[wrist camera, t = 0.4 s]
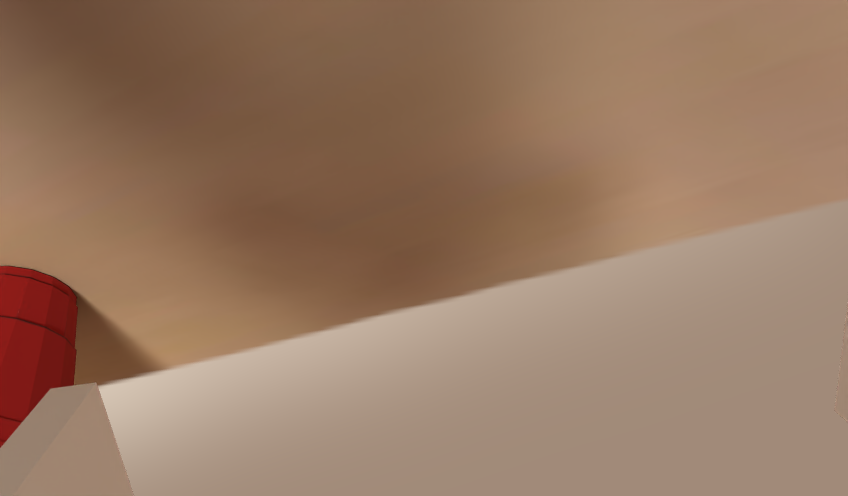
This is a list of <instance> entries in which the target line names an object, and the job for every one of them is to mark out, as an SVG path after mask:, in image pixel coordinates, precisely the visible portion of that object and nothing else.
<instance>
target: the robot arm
mask: <svg viewBox="0 0 848 496" xmlns="http://www.w3.org/2000/svg"><path fill="white" fill-rule="evenodd" d="M835 412H836V413H837V414H839V415H840V416H841V417H842V418H843V419H844V420H845V421H847V422H848V304H847V312H846V321H845V328H844V337H843V345H842V353H841V361H840V369H839V378H838V386H837V394H836V402H835ZM0 496H134V494H133V491H132V488H131V485H130V482H129V479H128V476H127V473H126V470H125V467H124V464H123V461H122V458H121V455H120V452H119V449H118V446H117V443H116V440H115V437H114V434H113V431H112V428H111V425H110V422H109V419H108V416H107V413H106V410H105V407H104V404H103V401H102V398H101V395H100V392H99V389H98V386H97V383H96V382H95V383H88V384H81V385H74V386H66V387H59V388H52V389H50V390H49V391H48V392H47V394H46V395H45V396H44V397H43V398H42V399H41V401H40V402H39V403H38V404H37V405H36V407H35V408H34V409H33V410H32V411H31V412H30V414H29V415H28V416H27V417H26V418H25V420H24V421H23V422H22V423H21V424H20V425H19V427H18V428H17V429H16V430H15V431H14V433H13V434H12V435H11V436H10V437H9V438H8V440H7V441H6V442H5V443H4V444H3V446H2V447H1V448H0Z"/></svg>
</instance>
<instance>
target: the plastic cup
mask: <svg viewBox="0 0 848 496" xmlns="http://www.w3.org/2000/svg"><path fill="white" fill-rule="evenodd" d="M76 299H77V297H76V296H75V294H74V293H73V292H72V290H71V289H70V288H69V287H68V286H67V285H65V284H63V283H62V282H60V281H59V280H57V279H56V278H54V277H51V276H49V275H46V274H43V273H40V272H37V271H34V270H31V269H24V268H18V267H12V266H0V448H1V447H2V446H3V444H4V443H5V442H6V441H7V440H8V438H9V437H10V436H11V435H12V434H13V433H14V431H15V430H16V429H17V428H18V427H19V425H20V424H21V423H22V422H23V421H24V420H25V418H26V417H27V416H28V415H29V414H30V412H31V411H32V410H33V409H34V408H35V407H36V405H37V404H38V403H39V402H40V401H41V399H42V398H43V397H44V396H45V395H46V394H47V392H48V391H49V390H50V389H52V388H59V387H66V386H74V374H75V362H76V349H75V337H76V325H77V312H78V307H77V306H76Z"/></svg>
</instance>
